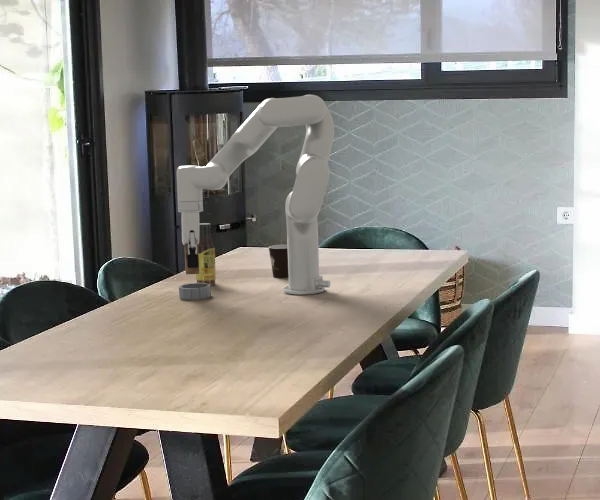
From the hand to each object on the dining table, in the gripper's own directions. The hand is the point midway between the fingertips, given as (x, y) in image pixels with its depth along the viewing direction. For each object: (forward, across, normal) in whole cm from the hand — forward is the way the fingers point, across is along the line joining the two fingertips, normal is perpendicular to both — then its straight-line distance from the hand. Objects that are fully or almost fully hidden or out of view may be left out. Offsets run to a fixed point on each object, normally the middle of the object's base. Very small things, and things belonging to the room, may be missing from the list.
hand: (192, 265), depth 340 cm
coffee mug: (+9, -28, +31) cm, 43 cm away
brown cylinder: (+2, 0, 0) cm, 2 cm away
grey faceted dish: (+10, 0, 0) cm, 10 cm away
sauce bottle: (+10, -20, +5) cm, 23 cm away
